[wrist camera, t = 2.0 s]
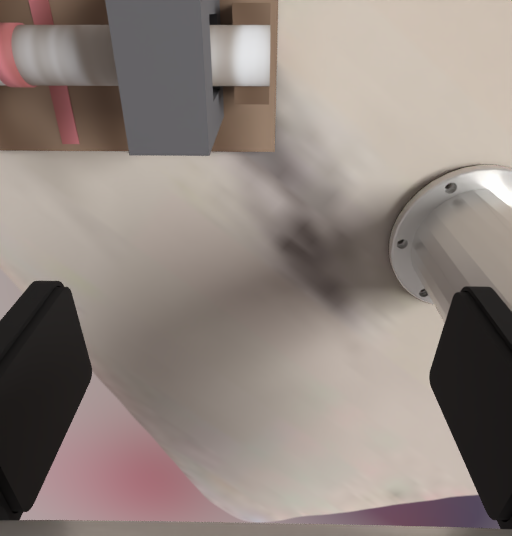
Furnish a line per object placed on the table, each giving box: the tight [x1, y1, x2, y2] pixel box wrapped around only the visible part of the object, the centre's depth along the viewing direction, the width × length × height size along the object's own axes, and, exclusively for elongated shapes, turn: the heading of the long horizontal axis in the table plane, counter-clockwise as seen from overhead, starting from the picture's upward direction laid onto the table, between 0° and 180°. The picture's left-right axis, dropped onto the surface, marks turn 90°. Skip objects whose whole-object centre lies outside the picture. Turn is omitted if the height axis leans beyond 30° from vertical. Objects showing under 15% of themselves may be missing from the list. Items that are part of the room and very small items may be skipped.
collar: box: [105, 0, 224, 156], centre depth 23 cm, size 4×8×9 cm, turn 0°
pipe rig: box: [0, 0, 278, 152], centre depth 25 cm, size 21×13×7 cm, turn 90°
